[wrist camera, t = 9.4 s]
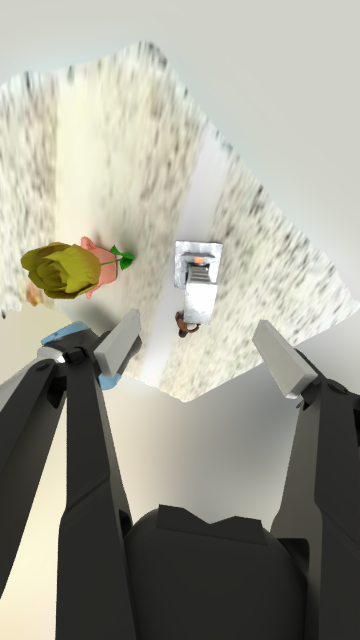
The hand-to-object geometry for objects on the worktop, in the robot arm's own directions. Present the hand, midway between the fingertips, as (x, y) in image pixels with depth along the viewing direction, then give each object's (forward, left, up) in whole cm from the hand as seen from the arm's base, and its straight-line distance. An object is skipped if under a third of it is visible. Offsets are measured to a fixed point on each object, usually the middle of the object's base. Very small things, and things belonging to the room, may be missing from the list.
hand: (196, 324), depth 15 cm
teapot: (-33, -2, -35) cm, 48 cm away
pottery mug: (-1, -21, -35) cm, 41 cm away
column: (0, 0, -25) cm, 25 cm away
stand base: (0, 0, -35) cm, 35 cm away
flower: (-22, +2, -35) cm, 41 cm away
